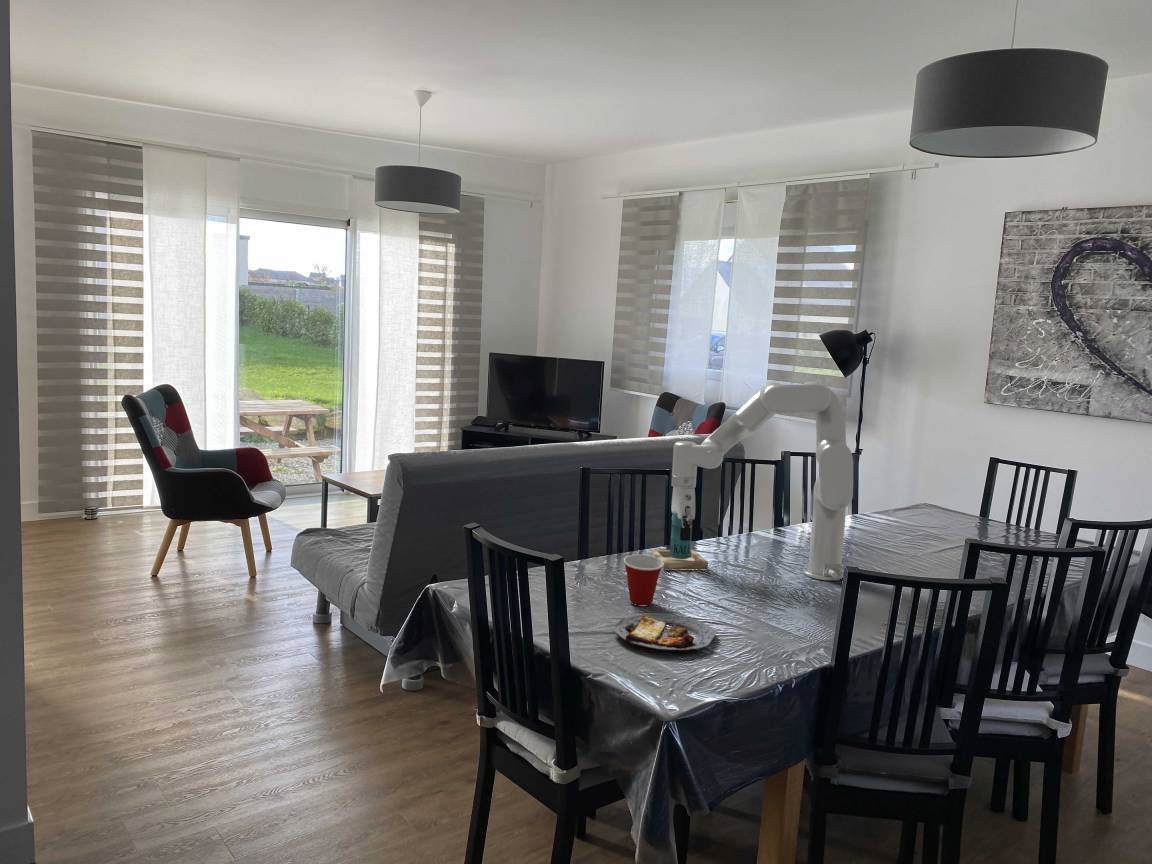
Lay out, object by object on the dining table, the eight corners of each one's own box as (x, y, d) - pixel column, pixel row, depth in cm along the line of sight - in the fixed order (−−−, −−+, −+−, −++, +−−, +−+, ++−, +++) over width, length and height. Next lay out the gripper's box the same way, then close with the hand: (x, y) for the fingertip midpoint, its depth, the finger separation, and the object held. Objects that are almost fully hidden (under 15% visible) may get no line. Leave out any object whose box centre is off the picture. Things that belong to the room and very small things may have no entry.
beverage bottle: (676, 557, 283) (680, 495, 280) (694, 561, 278) (698, 498, 276) (665, 561, 278) (668, 498, 275) (683, 565, 273) (686, 501, 271)
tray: (707, 570, 273) (708, 562, 272) (663, 570, 270) (664, 562, 270) (692, 557, 286) (693, 549, 286) (651, 557, 284) (651, 550, 283)
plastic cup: (628, 611, 232) (631, 566, 231) (615, 597, 243) (618, 555, 241) (667, 609, 235) (670, 565, 234) (653, 596, 246) (655, 553, 244)
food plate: (699, 664, 199) (700, 649, 198) (601, 647, 207) (602, 632, 207) (723, 632, 222) (724, 618, 221) (634, 617, 230) (635, 604, 230)
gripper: (704, 487, 267) (701, 543, 269) (686, 476, 284) (683, 529, 286) (680, 487, 265) (677, 544, 268) (664, 476, 282) (660, 529, 285)
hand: (680, 536), depth 277 cm, fingers open, 8 cm apart
